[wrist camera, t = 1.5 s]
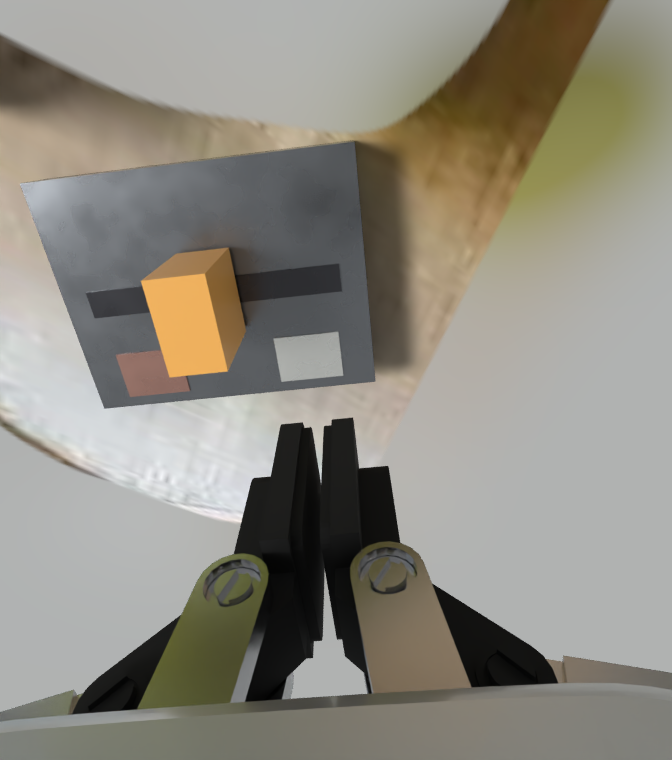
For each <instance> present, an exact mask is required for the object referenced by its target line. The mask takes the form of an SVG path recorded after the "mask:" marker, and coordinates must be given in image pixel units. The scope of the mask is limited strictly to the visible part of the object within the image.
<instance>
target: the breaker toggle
mask: <svg viewBox="0 0 672 760" xmlns="http://www.w3.org/2000/svg"><path fill="white" fill-rule="evenodd" d="M141 283H142V286H143V290H144V293H145V297H146V300H147V303H148V307H149V310H150V313H151V317H152V320H153V323H154V327H155V330H156V333H157V337H158V340H159V344H160V347H161V350H162V354H163V357H164V360H165V364H166V367H167V370H168V374H169V377H179V376H188V375H198V374H208V373H218V372H227V371H228V370H229V368H230V366H231V363H232V361H233V359H234V357H235V355H236V352H237V350H238V348H239V346H240V343H241V341H242V339H243V337H244V335H245V332H246V328H245V323H244V318H243V313H242V309H241V304H240V299H239V294H238V289H237V285H236V280H235V275H234V270H233V266H232V261H231V256H230V251H229V248H220V249H211V250H203V251H194V252H186V253H177V254H175V255H174V256H172V257H171V258H170V259H169V260H167V261H166V262H165V263H163V264H162V265H161V266H159V267H158V268H157V269H156V270H154V271H153V272H152V273H150V274H149V275H148V276H146V277H145V278H144V279H143V280H141Z"/></svg>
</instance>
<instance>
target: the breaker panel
mask: <svg viewBox="0 0 672 760" xmlns="http://www.w3.org/2000/svg"><path fill="white" fill-rule="evenodd" d="M20 185H21V188H22V191H23V193H24V196H25V199H26V201H27V204H28V207H29V209H30V212H31V214H32V217H33V220H34V222H35V225H36V228H37V230H38V233H39V236H40V238H41V241H42V244H43V246H44V249H45V252H46V254H47V257H48V260H49V262H50V265H51V268H52V270H53V273H54V276H55V278H56V281H57V284H58V286H59V289H60V292H61V294H62V297H63V300H64V302H65V305H66V307H67V310H68V313H69V315H70V318H71V321H72V323H73V326H74V329H75V331H76V334H77V337H78V339H79V342H80V345H81V347H82V350H83V353H84V355H85V358H86V361H87V363H88V366H89V369H90V371H91V374H92V377H93V379H94V382H95V385H96V387H97V390H98V393H99V395H100V398H101V400H102V403H103V406H104V408H115V407H125V406H135V405H145V404H155V403H165V402H175V401H185V400H195V399H205V398H215V397H225V396H235V395H245V394H255V393H265V392H275V391H285V390H295V389H305V388H315V387H325V386H335V385H345V384H355V383H365V382H375V371H374V359H373V348H372V336H371V325H370V313H369V302H368V290H367V279H366V267H365V256H364V244H363V233H362V221H361V209H360V198H359V186H358V175H357V163H356V152H355V141H353V140H352V141H344V142H336V143H328V144H320V145H313V146H305V147H297V148H289V149H281V150H273V151H265V152H257V153H249V154H241V155H233V156H225V157H217V158H209V159H201V160H193V161H185V162H178V163H170V164H162V165H154V166H146V167H138V168H130V169H122V170H114V171H106V172H98V173H90V174H82V175H74V176H66V177H58V178H50V179H44V180H38V181H32V182H26V183H21V184H20ZM220 248H229V251H230V256H231V261H232V266H233V270H234V275H235V280H236V285H237V289H238V294H239V299H240V304H241V309H242V313H243V318H244V323H245V328H246V332H245V335H244V337H243V339H242V341H241V343H240V346H239V348H238V350H237V352H236V355H235V357H234V359H233V361H232V363H231V366H230V368H229V370H228V371H227V372H218V373H208V374H198V375H188V376H179V377H169V374H168V370H167V367H166V364H165V360H164V357H163V354H162V350H161V347H160V344H159V340H158V337H157V333H156V330H155V327H154V323H153V320H152V317H151V313H150V310H149V307H148V303H147V300H146V297H145V293H144V290H143V286H142V283H141V280H143V279H144V278H145V277H146V276H148V275H149V274H150V273H152V272H153V271H154V270H156V269H157V268H158V267H159V266H161V265H162V264H163V263H165V262H166V261H167V260H169V259H170V258H171V257H172V256H174V255H175V254H177V253H186V252H194V251H203V250H211V249H220Z"/></svg>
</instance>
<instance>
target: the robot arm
mask: <svg viewBox="0 0 672 760" xmlns="http://www.w3.org/2000/svg"><path fill="white" fill-rule="evenodd" d="M324 570H325V573H326V578H327V584H328V590H329V596H330V601H331V607H332V614H333V619H334V625H335V631H336V636H337V639H342V640H343V647H344V653H345V657H347V658H348V659H349V660H350V661H351V662H353V663H354V664H355V665H356V666H357V667H358V668H359V669H360V670H362V671H363V672H364V677H365V684H366V689H367V694H358V695H343V696H328V697H312V698H297V699H290V698H291V694H292V689H293V679H294V675H293V671H294V670H295V669H296V668H297V667H298V666H299V665H300V664H301V663H302V662H303V661H304V660H305V659H306V658H313V646H314V645H313V644H314V641H322V637H323V606H324V605H323V604H324ZM0 760H672V673H669V672H663V671H656V670H651V669H644V668H638V667H631V666H626V665H619V664H612V663H607V662H600V661H594V660H588V659H581V658H575V657H569V656H563V661H562V662H561V661H555V660H549V659H545V657H544V656H543V655H542V654H540V653H539V652H538V651H537V650H536V649H534V648H533V647H532V646H530V645H529V644H527V643H526V642H524V641H522V640H521V639H519V638H518V637H516V636H515V635H513V634H511V633H510V632H508V631H507V630H505V629H503V628H502V627H500V626H499V625H497V624H495V623H494V622H492V621H491V620H489V619H487V618H486V617H484V616H483V615H481V614H480V613H478V612H476V611H475V610H473V609H471V608H470V607H468V606H467V605H465V604H464V603H462V602H461V601H459V600H457V599H456V598H454V597H453V596H451V595H449V594H448V593H446V592H445V591H443V590H441V589H440V588H438V587H437V586H435V585H434V584H432V582H431V580H430V577H429V575H428V572H427V570H426V567H425V564H424V562H423V560H422V559H421V557H420V555H419V554H418V553H417V552H416V551H414V550H413V549H412V548H411V547H409V546H406V545H404V544H402V543H400V538H399V532H398V525H397V519H396V512H395V506H394V499H393V493H392V486H391V480H390V473H389V468H388V466H383V467H371V468H360V469H359V464H358V455H357V447H356V438H355V429H354V421H353V418H345V419H334V420H332V425H331V426H324V436H323V459H322V482H320V475H319V469H318V463H317V457H316V450H315V444H314V438H313V432H312V428H311V427H310V428H304V425H303V423H293V424H282V425H281V427H280V431H279V437H278V442H277V447H276V452H275V458H274V463H273V468H272V473H271V477H261V478H254V479H253V480H252V482H251V485H250V490H249V494H248V498H247V502H246V506H245V510H244V514H243V518H242V522H241V528H240V531H239V535H238V539H237V543H236V547H235V551H234V554H232V555H229V556H226V557H223V558H221V559H219V560H218V561H216V562H214V563H212V564H211V565H210V566H209V567H208V568H207V569H205V570H204V571H203V573H202V574H201V576H200V577H199V579H198V580H197V582H196V584H195V586H194V589H193V591H192V593H191V595H190V597H189V600H188V602H187V604H186V606H185V608H184V610H183V612H182V614H181V615H180V616H179V617H178V618H176V619H175V620H174V621H172V622H171V623H170V624H168V625H167V626H166V627H164V628H163V629H162V630H160V631H159V632H158V633H157V634H155V635H154V636H152V637H151V638H150V639H149V640H147V641H146V642H145V643H143V644H142V645H141V646H139V647H138V648H137V649H136V650H134V651H133V652H131V653H130V654H129V655H127V656H126V657H125V658H123V659H122V660H121V661H119V662H118V663H117V664H116V665H114V666H113V667H112V668H110V669H109V670H108V671H106V672H105V673H104V674H102V675H101V676H100V677H98V678H97V679H96V680H95V681H94V682H93V683H92V684H91V685H90V686H89V687H88V688H87V689H86V690H85V692H84V693H82V694H79V695H77V694H76V692H75V691H74V690H71V691H68V692H64V693H61V694H58V695H54V696H51V697H48V698H45V699H42V700H38V701H35V702H32V703H28V704H25V705H22V706H19V707H15V708H12V709H9V710H5V711H2V712H0Z"/></svg>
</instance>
